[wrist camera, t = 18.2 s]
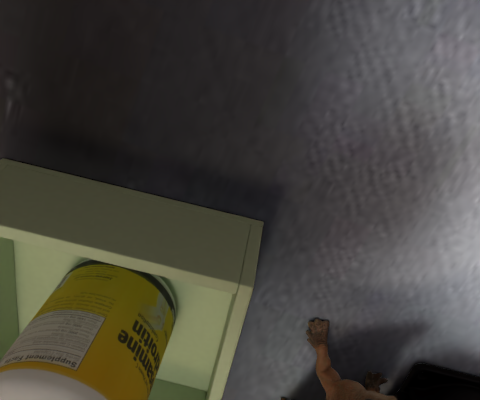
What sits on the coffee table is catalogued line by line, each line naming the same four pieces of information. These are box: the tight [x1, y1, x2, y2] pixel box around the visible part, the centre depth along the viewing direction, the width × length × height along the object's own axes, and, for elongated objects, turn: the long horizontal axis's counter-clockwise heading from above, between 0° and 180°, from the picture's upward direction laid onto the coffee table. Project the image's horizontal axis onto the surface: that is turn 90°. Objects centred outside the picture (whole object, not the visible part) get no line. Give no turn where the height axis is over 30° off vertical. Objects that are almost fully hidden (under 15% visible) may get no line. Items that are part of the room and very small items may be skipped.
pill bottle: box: [0, 259, 176, 400], centre depth 20 cm, size 6×6×12 cm
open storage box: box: [0, 158, 264, 400], centre depth 23 cm, size 13×13×5 cm
